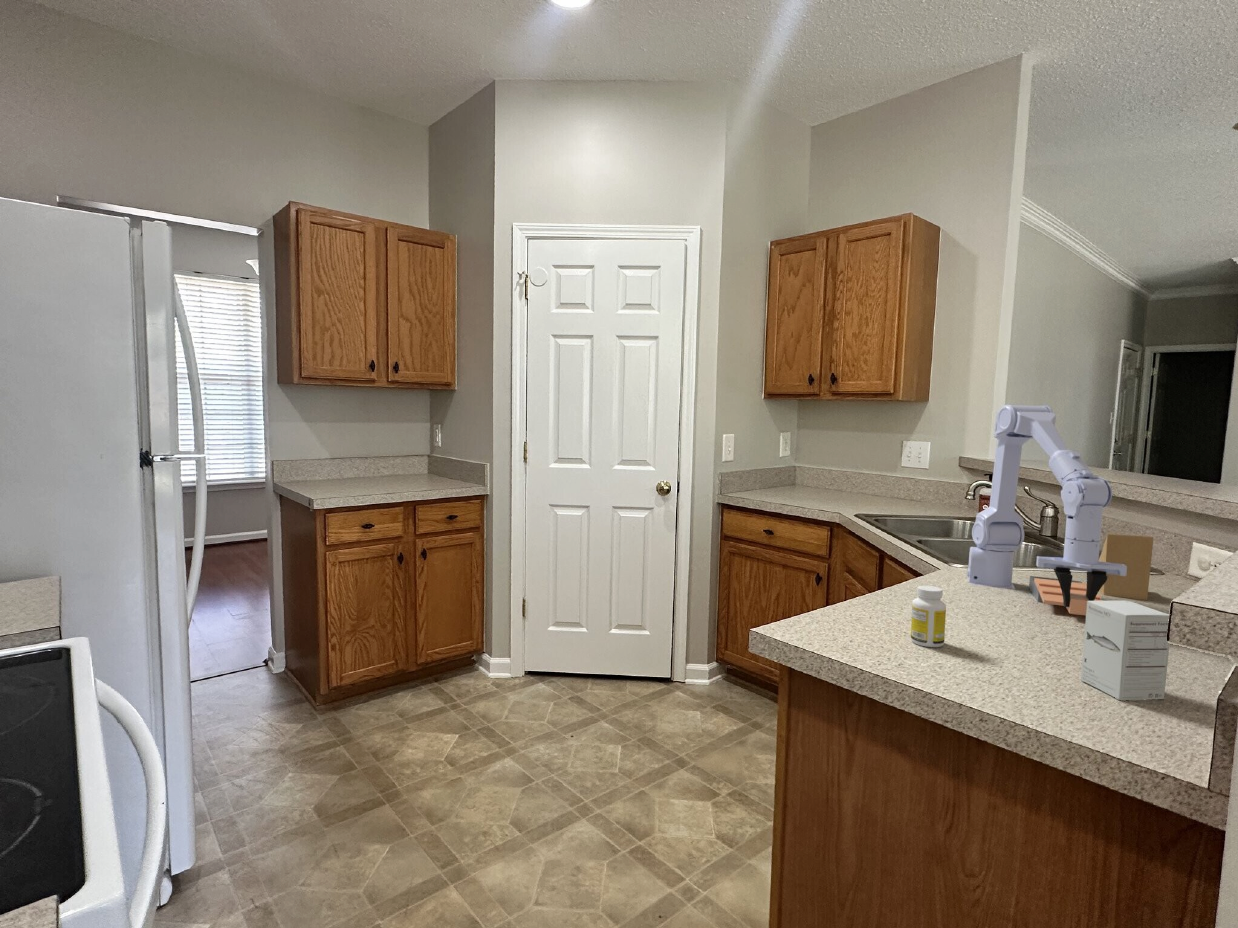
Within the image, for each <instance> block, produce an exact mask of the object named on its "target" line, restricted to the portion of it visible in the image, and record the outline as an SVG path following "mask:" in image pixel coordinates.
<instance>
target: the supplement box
mask: <svg viewBox="0 0 1238 928" xmlns="http://www.w3.org/2000/svg"><path fill="white" fill-rule="evenodd" d="M1169 615H1170V614H1169V613H1166V612H1163V611H1160V610H1157V609H1153V608H1151V607H1148V606H1144V605H1143V604H1140V603H1136V602H1134V601H1130V600H1102V601H1087V611H1086V615H1085V624H1084V625H1085V626H1084V633H1083V634H1084V635H1083V645H1082V646H1083V647H1082V656H1081V657H1082V658H1081V668H1080V669H1081V670H1080V681H1081V682H1084V683H1086V684H1088V685H1089V686H1092V687H1094V688H1095V689H1098V690H1100V691H1102V692H1103V693H1106V694H1107V695H1109V696H1111V697H1113V698H1114V697H1115V698H1114V699H1116V700H1118V701H1120V700H1121V701H1126V700H1129V701H1144V700H1143V699H1164V700H1165V693H1166V692H1165V691H1166V684H1167V682H1166V681H1167V676H1168V675H1167V673H1168V664H1169V663H1168V662H1169V654H1170V643H1168V642H1167V629H1168V619H1169ZM1141 699H1142V700H1141Z"/></svg>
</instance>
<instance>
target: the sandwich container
mask: <svg viewBox="0 0 1238 928" xmlns="http://www.w3.org/2000/svg"><path fill="white" fill-rule="evenodd" d="M1153 546H1154V537H1153V536H1149V535H1137V534H1125V533H1124V534H1123V533H1107V535H1106V538H1105V541H1104V544H1103V547H1102V549H1101V551H1100V553H1099V561H1100V562H1107V563H1115V564H1124V565H1125V566H1127V573H1126V576H1120V575H1115V574H1106V576H1107V581H1106V582H1105V583H1104V585H1103V586H1102V587H1101V589H1100V590H1099V592H1098V593H1101V594H1102V595H1103V596H1110V597H1117V598H1118V597H1119V598H1125V599H1127V598H1128V599H1133V600H1144V601H1145V600H1146V601H1148V596H1149V587H1150V578H1151V577H1150V576H1151V574H1150V573H1151V565H1152V556H1153V548H1154V547H1153Z"/></svg>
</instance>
